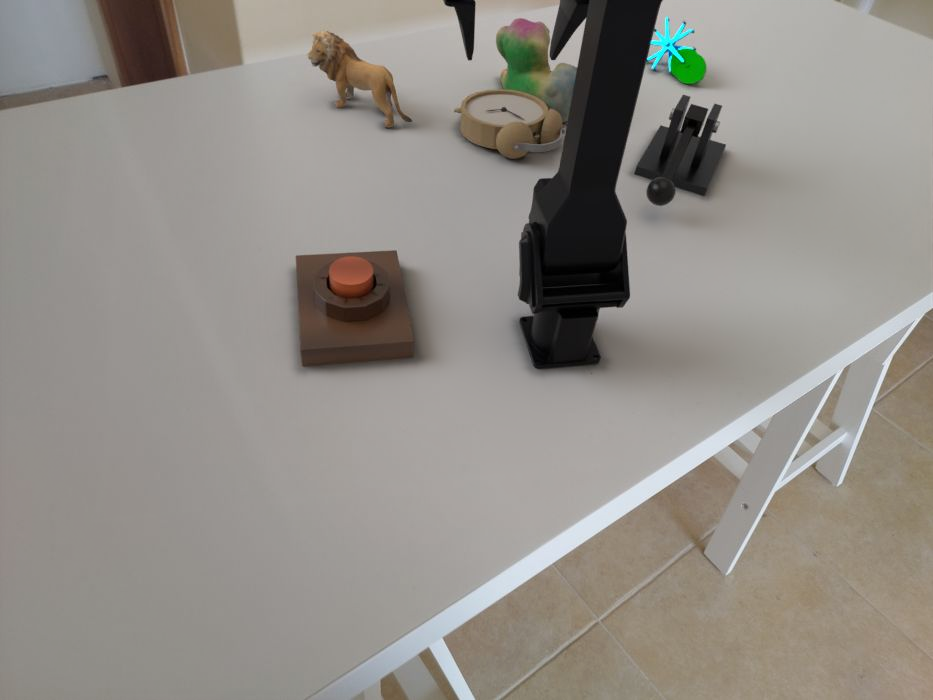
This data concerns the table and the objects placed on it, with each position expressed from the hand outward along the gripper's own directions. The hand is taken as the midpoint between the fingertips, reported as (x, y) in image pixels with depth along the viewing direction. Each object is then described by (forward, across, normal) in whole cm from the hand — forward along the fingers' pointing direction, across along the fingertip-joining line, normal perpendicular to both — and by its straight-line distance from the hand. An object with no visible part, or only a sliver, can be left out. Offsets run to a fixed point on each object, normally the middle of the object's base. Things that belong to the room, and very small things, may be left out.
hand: (511, 58), depth 79 cm
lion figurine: (+15, +15, -17) cm, 27 cm away
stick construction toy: (+15, -35, -28) cm, 47 cm away
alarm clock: (+15, -4, -9) cm, 18 cm away
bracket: (+15, -25, -2) cm, 29 cm away
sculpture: (+15, -10, -19) cm, 26 cm away
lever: (+12, -21, +4) cm, 24 cm away
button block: (+15, +19, +22) cm, 33 cm away
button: (+11, +19, +22) cm, 31 cm away
